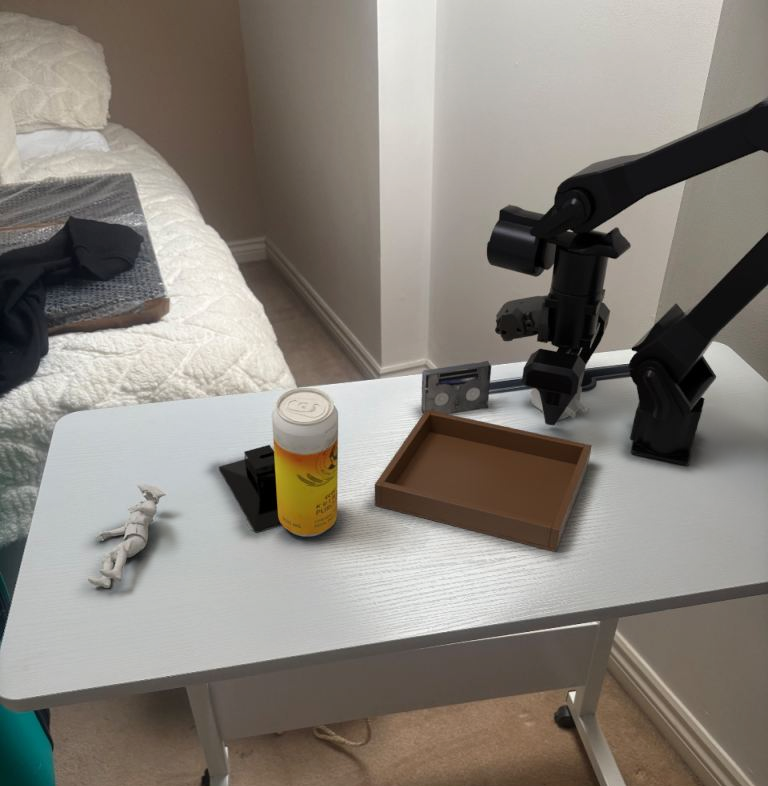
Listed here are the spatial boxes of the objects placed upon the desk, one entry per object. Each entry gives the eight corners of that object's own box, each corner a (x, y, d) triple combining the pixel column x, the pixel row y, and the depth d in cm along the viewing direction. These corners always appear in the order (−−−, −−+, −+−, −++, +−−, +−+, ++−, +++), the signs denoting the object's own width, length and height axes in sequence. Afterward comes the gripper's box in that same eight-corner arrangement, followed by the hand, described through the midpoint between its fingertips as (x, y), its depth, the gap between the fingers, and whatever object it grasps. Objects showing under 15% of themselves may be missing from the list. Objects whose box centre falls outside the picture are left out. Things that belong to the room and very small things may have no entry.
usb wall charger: (555, 396, 105) (559, 369, 103) (592, 422, 100) (597, 394, 98) (530, 405, 104) (533, 377, 101) (566, 432, 99) (571, 403, 96)
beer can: (328, 545, 84) (328, 431, 73) (270, 534, 84) (262, 419, 74) (343, 504, 88) (345, 390, 77) (288, 494, 89) (282, 380, 78)
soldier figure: (72, 591, 80) (102, 488, 87) (118, 608, 83) (144, 507, 89) (109, 566, 75) (138, 458, 82) (157, 584, 78) (181, 479, 84)
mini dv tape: (483, 401, 104) (486, 359, 101) (487, 407, 103) (491, 365, 99) (421, 411, 103) (422, 368, 99) (424, 417, 102) (426, 374, 98)
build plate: (318, 514, 88) (316, 479, 85) (252, 535, 85) (247, 499, 82) (276, 452, 96) (273, 419, 93) (216, 469, 94) (210, 435, 91)
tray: (588, 465, 94) (592, 444, 92) (555, 552, 83) (559, 530, 81) (425, 429, 100) (426, 409, 98) (374, 505, 88) (374, 484, 87)
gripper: (528, 245, 101) (516, 358, 111) (482, 308, 88) (473, 430, 98) (620, 258, 98) (599, 374, 108) (587, 326, 85) (566, 451, 95)
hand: (559, 405), depth 102 cm, fingers open, 9 cm apart
